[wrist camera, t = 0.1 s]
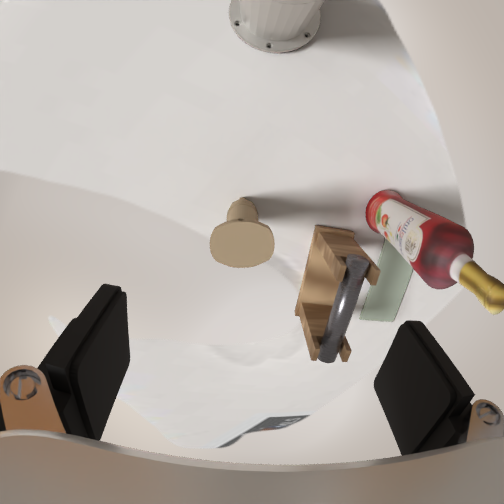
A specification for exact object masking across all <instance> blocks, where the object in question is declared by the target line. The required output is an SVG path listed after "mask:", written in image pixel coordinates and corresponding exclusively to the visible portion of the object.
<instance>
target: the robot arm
mask: <svg viewBox="0 0 504 504" xmlns="http://www.w3.org/2000/svg"><path fill="white" fill-rule="evenodd" d="M324 1H325V0H231V3H230V6H229V19H230V23H231V26H232V28H233V30H234V32H235V33H236V34H237V35H238V37H239V38H240V39H241V40H243V41H244V42H245V43H246V44H248V45H250V46H251V47H253V48H256V49H258V50H261V51H265V52H270V53H283V52H289V51H293V50H296V49H298V48H300V47H302V46H304V45H305V44H307V43H308V42H309V41H310V40H311V39H312V38H313V37H314V35H315V34H316V32H317V31H318V28H319V26H320V20H321V14H320V9H319V8H320V7H321V5H322V4H323V2H324ZM236 24H239V26H236ZM305 35H307V36H308V38H306V37H305ZM267 46H271V48H268V47H267ZM129 362H130V349H129V335H128V321H127V296H126V293H125V292H122V291H121V287H119V286H114V285H109V284H103V285H102V286H101V287H100V288H99V290H98V291H97V292H96V293H95V295H94V296H93V297H92V299H91V300H90V301H89V303H88V304H87V305H86V306H85V308H84V309H83V311H82V312H81V313H80V315H79V316H78V317H77V318H74V319H73V320H72V321H71V322H70V323H69V324H68V326H67V327H66V328H65V330H64V331H63V332H62V334H61V335H60V337H59V338H58V339H57V341H56V342H55V344H54V345H53V346H52V348H51V349H50V351H49V352H48V354H47V355H46V357H45V358H44V359H43V361H42V362H41V364H40V365H39V367H38V368H35V367H33V366H28V365H20V366H16V367H13V368H11V369H9V370H7V371H6V372H5V373H4V374H3V375H2V376H1V378H0V504H504V415H503V413H502V411H501V410H500V409H499V407H498V406H496V405H495V404H494V403H492V402H490V401H488V400H483V399H480V400H477V401H475V402H474V404H473V405H471V403H470V401H471V400H472V398H473V397H474V395H475V394H474V393H473V391H472V390H471V388H470V387H469V385H468V384H467V382H466V381H465V380H464V378H463V377H462V375H461V374H460V372H459V371H458V370H457V368H456V367H455V366H454V364H453V363H452V361H451V360H450V358H449V357H448V356H447V354H446V353H445V352H444V350H443V349H442V348H441V346H440V345H439V344H438V343H437V341H436V340H435V338H434V337H433V336H432V334H431V333H430V332H429V330H428V329H427V328H426V326H425V325H424V324H423V323H422V322H421V321H406V322H405V323H404V324H402V325H401V326H400V327H399V329H398V331H397V334H396V336H395V338H394V340H393V343H392V345H391V347H390V349H389V351H388V353H387V355H386V358H385V360H384V362H383V364H382V366H381V368H380V370H379V372H378V374H377V376H376V378H375V380H374V389H375V391H376V394H377V396H378V398H379V401H380V403H381V405H382V408H383V410H384V412H385V415H386V417H387V420H388V422H389V425H390V427H391V429H392V432H393V435H394V437H395V440H396V442H397V445H398V447H399V449H400V452H401V455H402V456H397V457H391V458H383V459H376V460H367V461H357V462H346V463H332V464H310V465H267V464H265V465H264V464H243V463H230V462H218V461H209V460H200V459H192V458H185V457H178V456H172V455H166V454H160V453H154V452H148V451H143V450H138V449H133V448H128V447H124V446H119V445H115V444H111V443H107V442H102V441H100V439H101V436H102V434H103V431H104V428H105V426H106V423H107V420H108V417H109V415H110V412H111V409H112V407H113V404H114V402H115V399H116V396H117V394H118V391H119V389H120V386H121V384H122V381H123V379H124V376H125V374H126V371H127V369H128V366H129Z"/></svg>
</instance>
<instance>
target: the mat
mask: <svg viewBox="0 0 504 504" xmlns="http://www.w3.org/2000/svg"><path fill="white" fill-rule="evenodd" d="M377 267H378V268H379V269H380V270H381V272H380V275H379V278H378V281H377V284H376V286H374V285H371V286H370V289H369V292H368V295H367V298H366V301H365V304H364V307H363V310H362V312H361V315H360V318H359V319H360V320H372V321H388V322H393V321H394V318H395V316H396V313H397V311H398V308H399V306H400V303H401V301H402V298H403V295H404V293H405V290H406V287H407V285H408V282H409V279H410V276H411V274H412V271H413V268H412V267H411V266H410V265H409V264H408V262H407V261H406V260H405V259H404V258H403V257H402V255H401V254H400V253H399V252H398V251H397V250H396V248H395V247H394V246H393V245H392V244H391V243H390V242H389V241H388V240H387V239H386V238H385V242H384V245H383V248H382V252H381V255H380V258H379V262H378V265H377Z"/></svg>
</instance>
